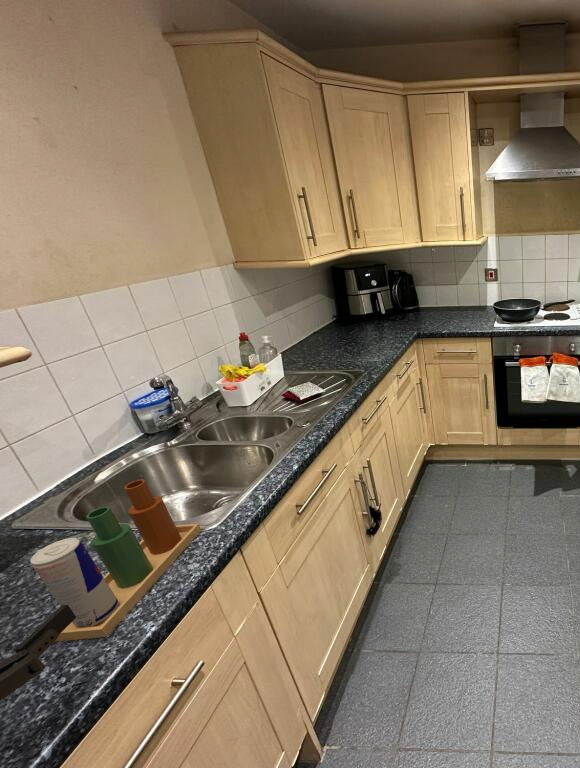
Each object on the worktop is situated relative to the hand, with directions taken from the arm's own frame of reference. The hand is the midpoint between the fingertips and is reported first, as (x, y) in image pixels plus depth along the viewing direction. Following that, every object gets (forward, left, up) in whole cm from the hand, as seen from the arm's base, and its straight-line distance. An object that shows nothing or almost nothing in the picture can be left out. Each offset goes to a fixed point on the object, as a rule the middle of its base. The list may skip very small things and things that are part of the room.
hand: (21, 615), depth 59 cm
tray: (0, +16, -10) cm, 19 cm away
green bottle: (0, +16, -10) cm, 19 cm away
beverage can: (0, +8, -10) cm, 13 cm away
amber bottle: (0, +24, -10) cm, 26 cm away
